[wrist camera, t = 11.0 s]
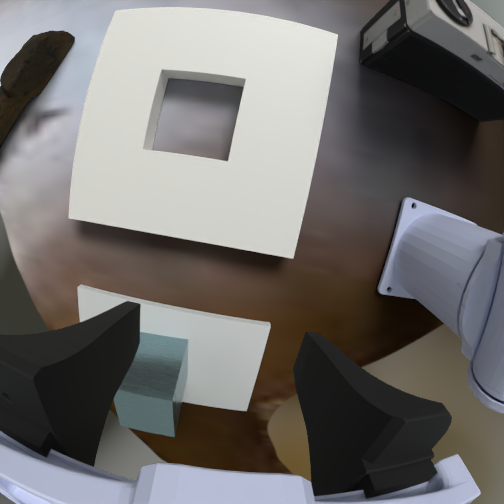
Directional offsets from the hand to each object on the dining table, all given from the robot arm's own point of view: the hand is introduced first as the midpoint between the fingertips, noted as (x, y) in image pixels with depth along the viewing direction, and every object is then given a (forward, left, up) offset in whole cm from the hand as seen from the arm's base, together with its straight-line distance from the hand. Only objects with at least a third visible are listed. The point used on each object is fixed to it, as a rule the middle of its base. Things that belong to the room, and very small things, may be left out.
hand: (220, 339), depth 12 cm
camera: (-13, -21, -10) cm, 27 cm away
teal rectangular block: (+4, +9, -9) cm, 13 cm away
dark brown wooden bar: (+23, -10, -10) cm, 27 cm away
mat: (+4, +9, -9) cm, 14 cm away
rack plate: (+4, -10, -9) cm, 14 cm away
